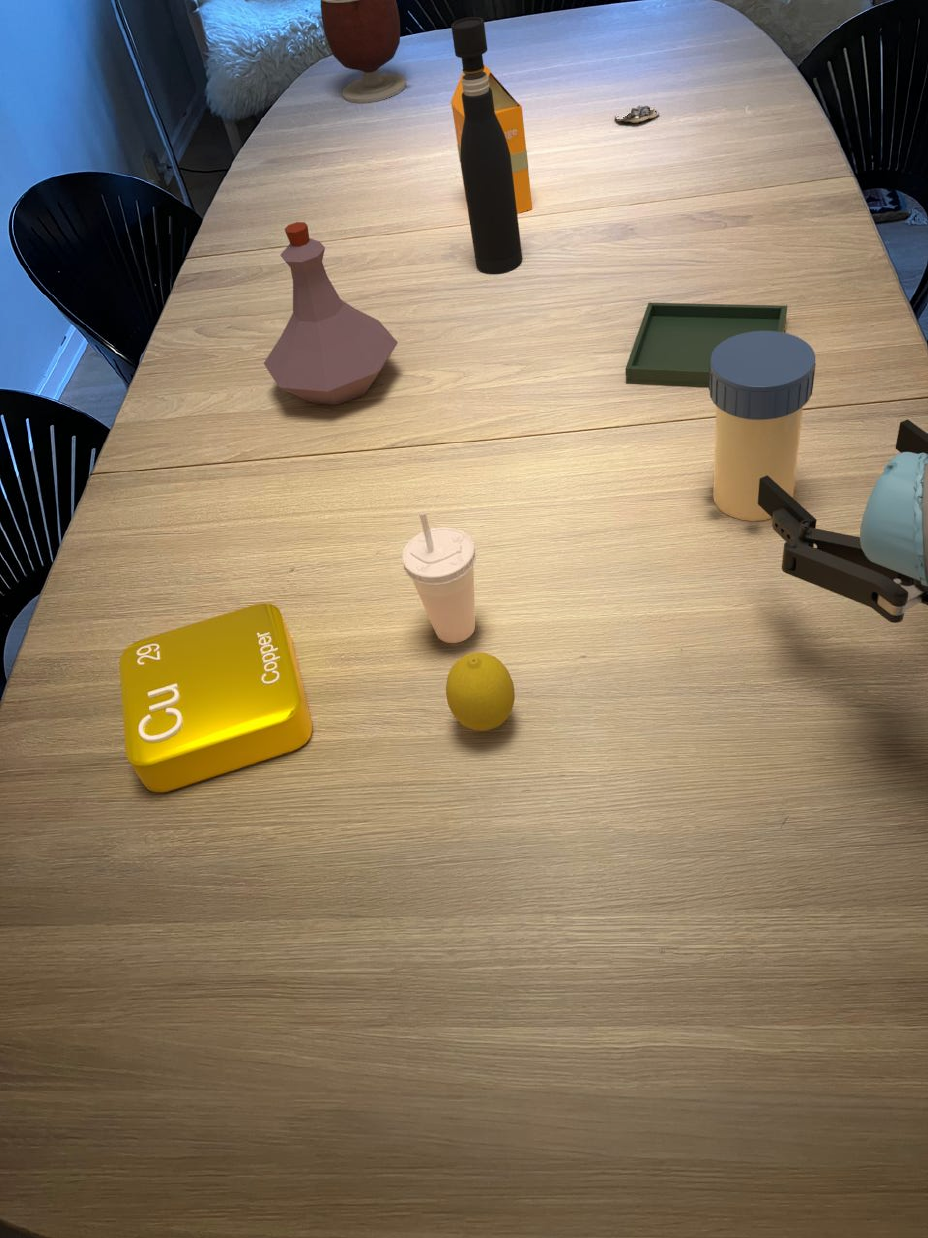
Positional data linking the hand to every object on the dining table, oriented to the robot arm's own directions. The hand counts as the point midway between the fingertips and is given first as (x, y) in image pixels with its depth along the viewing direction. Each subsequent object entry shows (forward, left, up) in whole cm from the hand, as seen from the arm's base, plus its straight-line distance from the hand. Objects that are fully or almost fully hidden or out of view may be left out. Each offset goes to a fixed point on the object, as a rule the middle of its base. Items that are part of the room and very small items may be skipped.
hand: (832, 461), depth 86 cm
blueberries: (+36, -101, -11) cm, 108 cm away
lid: (+7, -8, +1) cm, 11 cm away
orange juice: (+51, -70, -11) cm, 87 cm away
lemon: (+25, +24, -11) cm, 36 cm away
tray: (+15, -33, -11) cm, 38 cm away
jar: (+7, -8, -11) cm, 15 cm away
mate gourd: (+89, -117, -11) cm, 147 cm away
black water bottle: (+46, -53, -11) cm, 71 cm away
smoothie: (+31, +14, -11) cm, 36 cm away
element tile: (+49, +27, -11) cm, 57 cm away
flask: (+58, -23, -11) cm, 63 cm away
